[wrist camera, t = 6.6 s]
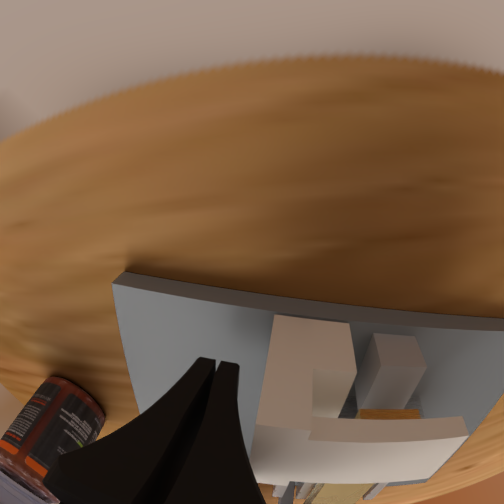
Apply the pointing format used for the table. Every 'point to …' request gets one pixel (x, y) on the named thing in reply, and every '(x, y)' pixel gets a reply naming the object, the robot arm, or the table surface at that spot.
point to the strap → (346, 495)
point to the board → (359, 318)
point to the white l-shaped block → (334, 417)
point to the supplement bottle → (48, 433)
